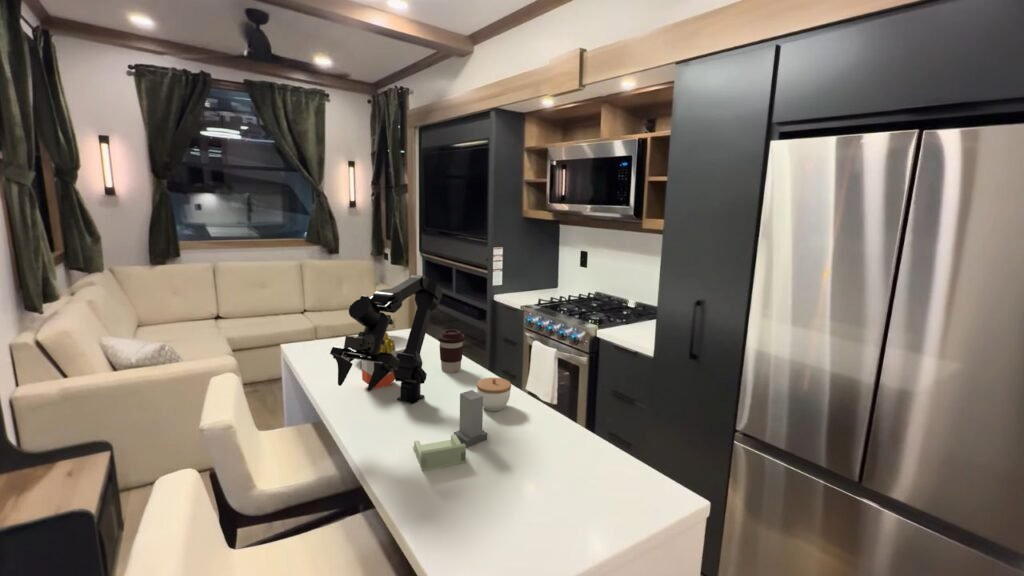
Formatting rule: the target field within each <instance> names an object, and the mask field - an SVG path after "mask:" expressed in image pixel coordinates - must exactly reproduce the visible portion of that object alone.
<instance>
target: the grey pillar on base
mask: <svg viewBox="0 0 1024 576" xmlns="http://www.w3.org/2000/svg"><path fill="white" fill-rule="evenodd" d="M483 415H484V406H483V396H482V395H480V394H479V393H477V391H475V390H473V389H471V390H467V391H464V392H461V393H459V429H458V430H456V431H454V432H453V434H456V436H457V438H458V439H459V441H460V443H461V444H465V445H466V449H468V448H471V447H473V446H475V445H478V444H481V443H483V442H487V441H488V435H489V434H488V432H486V431H485V430H484V429H483V425H484V424H483V423H484V422H483V421H484V420H483V417H484V416H483Z"/></svg>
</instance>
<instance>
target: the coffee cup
mask: <svg viewBox="0 0 1024 576" xmlns="http://www.w3.org/2000/svg"><path fill="white" fill-rule="evenodd" d="M465 337H466V336H465V334H463V333H461V331H460V330H457V329H445V330H443V331H442V332H441V333H440V334H439V335H437V340H438V342H439V358H440V366H441V371H442V372H444V373H458V372H460V371H461V367H462V360H463V350H464V341H465Z"/></svg>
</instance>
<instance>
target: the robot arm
mask: <svg viewBox="0 0 1024 576" xmlns="http://www.w3.org/2000/svg"><path fill="white" fill-rule="evenodd" d="M413 295H414V301H415V304H416V311H415V313H414V318H413V321H412V324H411V328H410V331H409V334H408V341H407V345H406V348H405V350H404V351H403V352H402V353H398V354H397V356H396V357H395V356H394V355H392V354H390V353H383V352H380V353H379V354H378V352H379V350H380V347H381V344H382V345H384V344H385V341H384V340H383V338H384V336H385V333H386V332H387V331H388V327H389V325H391V326H392V325H393V324H394V321H393V319H392V316H391V315H390V314H385V313H392V314H395V313H397V311H398V310H399V309H401V308H402V306H403V302H404V301H405V300H407V299H408V298H410V297H411V296H413ZM442 297H443V289H442V288H441V287H440V285H438V284H437V283H436V282H433V281H432V280H430V279H429V278H428V277H427V276H425V275H418V274H414V275H410V277H409V278H408V279H406V280H404V281H402V282H401V283H399V284H397V285H395V286H393V287H392V288H384V289H383V288H382V289H380V290H376V291H375V292H373V294H372V295H371V296H368V295H360V297H359V299H356V300H355V301H354V302H353V303H352V304H350V306H349V308H348V314H349V316H350V317H351V318H352V319H353V320H354V321H355V322H357V323H359V324H360V325H361V326H363V327H364V329H363V331H360V332H359V333H358V335H357V336H356V335H346V336H345V337H344V343H343V345H340V344H339V345H338V344H335V345H333V346H332V347H331V349H330V352H329V355H331V356H332V358H333V359H334V360H335V361H336V363H337V385H338V386H340V387H341V386H342V385H343V383H344V382H345V380H346V378H347V377H348V374H349V372H350V371H351V368H352V366H353V363H352V361H354V360H360V361H362V360H365V361H371V362H374V371H373V374H372V377H371V379H370V382H369V385H368V384H367V385H368V386H367V392H371V391H373V389H374V387H375V386H376V385H377V384H378V383H379V382H380V381H381V380H382V379H383V378H384V377H385V376H386V375H387V374H388V373H389V372H393V373H394V377H395V380H394V381H396V382H399V383H400V388H399V389H400V393H399V395H400V396H398V397H397V398H396V401H398V402H403V403H406V404H410V405H414V404H415V403H417V402H419V401H421V400H422V399H424V398H425V395H424V394H421V392H422V391H421V385H422V384H425V381H426V380H427V376H428V375H427V372H426V371H425V370H424V369H423V368H422V367H423V360H422V356H421V351H422V349H423V348H422V347H423V343H424V340H425V338H426V337H425V336H426V334H427V330H428V327H429V326H428V325H429V322H430V319H431V315H432V312H434V310H435V309H436V308H437V307H438V306H440V305H439V304H440V302H441V299H442ZM384 312H385V313H384ZM362 356H363V357H362ZM368 357H371V358H368ZM376 362H377V363H376ZM392 369H393V370H392Z"/></svg>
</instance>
